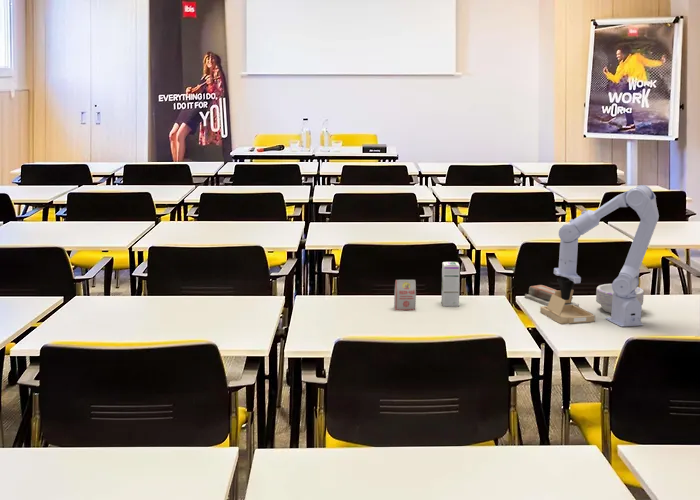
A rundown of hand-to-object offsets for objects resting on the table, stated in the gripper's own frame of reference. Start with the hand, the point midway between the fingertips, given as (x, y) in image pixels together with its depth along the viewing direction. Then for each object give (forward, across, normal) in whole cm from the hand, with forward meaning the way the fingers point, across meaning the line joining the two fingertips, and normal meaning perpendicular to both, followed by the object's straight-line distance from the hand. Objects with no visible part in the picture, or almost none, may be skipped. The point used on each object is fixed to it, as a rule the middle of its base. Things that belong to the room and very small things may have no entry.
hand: (565, 299), depth 282 cm
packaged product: (+5, -14, +2) cm, 15 cm away
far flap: (+2, -3, 0) cm, 3 cm away
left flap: (+2, +7, -8) cm, 11 cm away
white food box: (+5, -16, -51) cm, 54 cm away
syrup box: (+5, -18, -34) cm, 39 cm away
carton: (+5, +5, -2) cm, 7 cm away
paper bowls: (+5, +2, +19) cm, 20 cm away
